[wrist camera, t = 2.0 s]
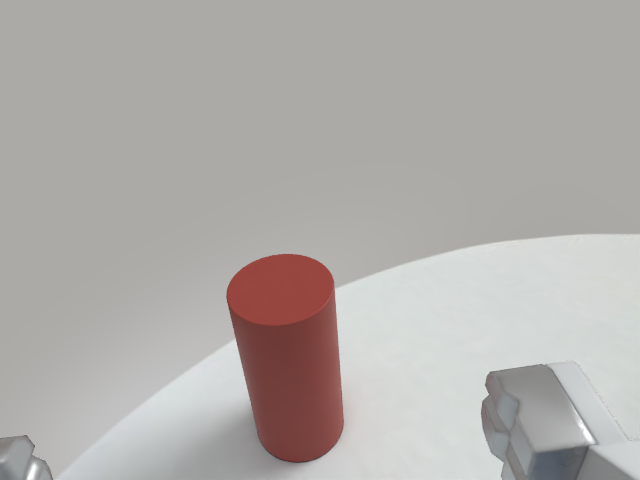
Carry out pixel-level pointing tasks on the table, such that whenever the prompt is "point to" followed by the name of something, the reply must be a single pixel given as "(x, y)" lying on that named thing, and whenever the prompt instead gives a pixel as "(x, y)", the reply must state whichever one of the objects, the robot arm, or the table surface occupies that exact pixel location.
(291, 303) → the red canister
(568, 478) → the robot arm
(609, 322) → the table surface
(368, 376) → the table surface
